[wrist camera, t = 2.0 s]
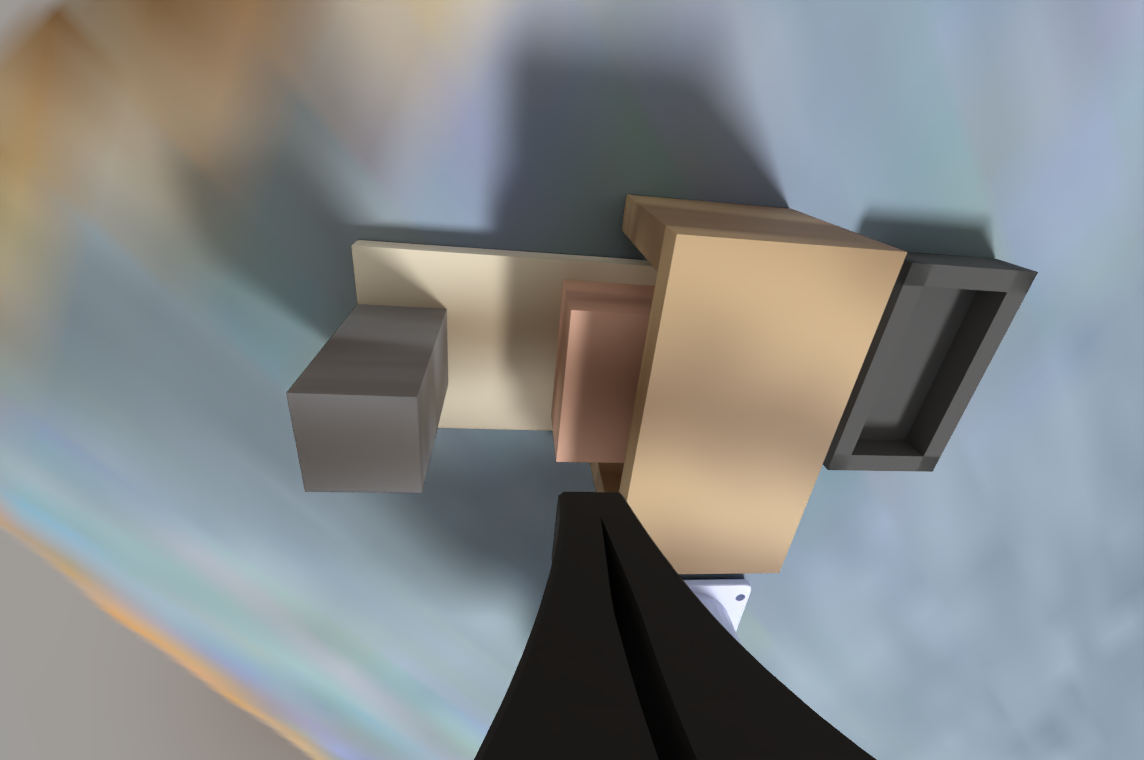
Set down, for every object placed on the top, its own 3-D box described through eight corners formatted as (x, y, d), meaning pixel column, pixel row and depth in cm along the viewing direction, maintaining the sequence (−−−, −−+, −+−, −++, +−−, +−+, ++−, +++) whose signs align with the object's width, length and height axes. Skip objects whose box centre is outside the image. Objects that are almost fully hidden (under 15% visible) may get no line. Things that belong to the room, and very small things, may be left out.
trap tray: (905, 447, 24) (932, 471, 23) (806, 445, 23) (827, 469, 22) (996, 258, 20) (1037, 272, 18) (879, 250, 19) (912, 262, 18)
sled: (782, 426, 23) (880, 544, 17) (375, 415, 20) (315, 547, 14) (834, 273, 20) (980, 349, 13) (358, 239, 17) (271, 313, 11)
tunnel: (718, 465, 23) (779, 572, 18) (589, 462, 23) (612, 575, 17) (790, 208, 18) (907, 251, 13) (626, 194, 17) (676, 234, 12)
